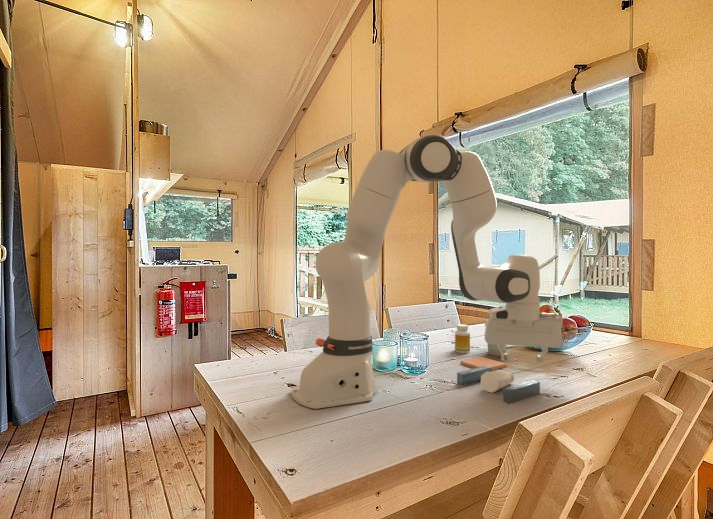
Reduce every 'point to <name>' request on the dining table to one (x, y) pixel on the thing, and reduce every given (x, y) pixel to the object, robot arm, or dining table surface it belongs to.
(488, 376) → the pepper shaker
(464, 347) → the supplement bottle
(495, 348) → the coffee cup
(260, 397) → the dining table surface
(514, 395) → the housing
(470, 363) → the mat
